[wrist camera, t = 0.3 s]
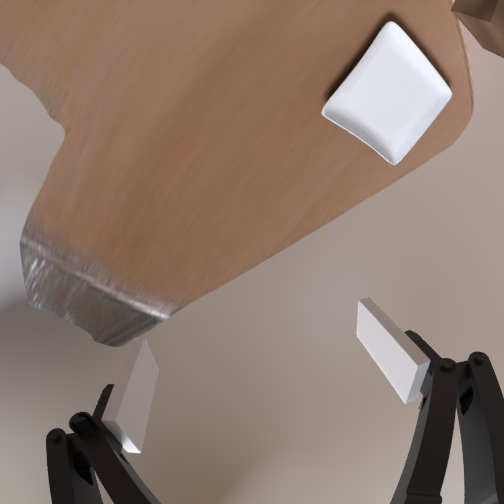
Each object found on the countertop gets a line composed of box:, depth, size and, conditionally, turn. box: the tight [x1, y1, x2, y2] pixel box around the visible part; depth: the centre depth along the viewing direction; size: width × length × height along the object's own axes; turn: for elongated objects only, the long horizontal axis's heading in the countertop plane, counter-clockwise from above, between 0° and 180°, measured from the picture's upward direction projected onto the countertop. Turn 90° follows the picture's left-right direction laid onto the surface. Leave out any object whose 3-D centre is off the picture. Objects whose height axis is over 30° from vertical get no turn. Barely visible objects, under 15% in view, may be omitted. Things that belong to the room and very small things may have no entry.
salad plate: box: [322, 21, 452, 165], centre depth 36 cm, size 21×21×3 cm
